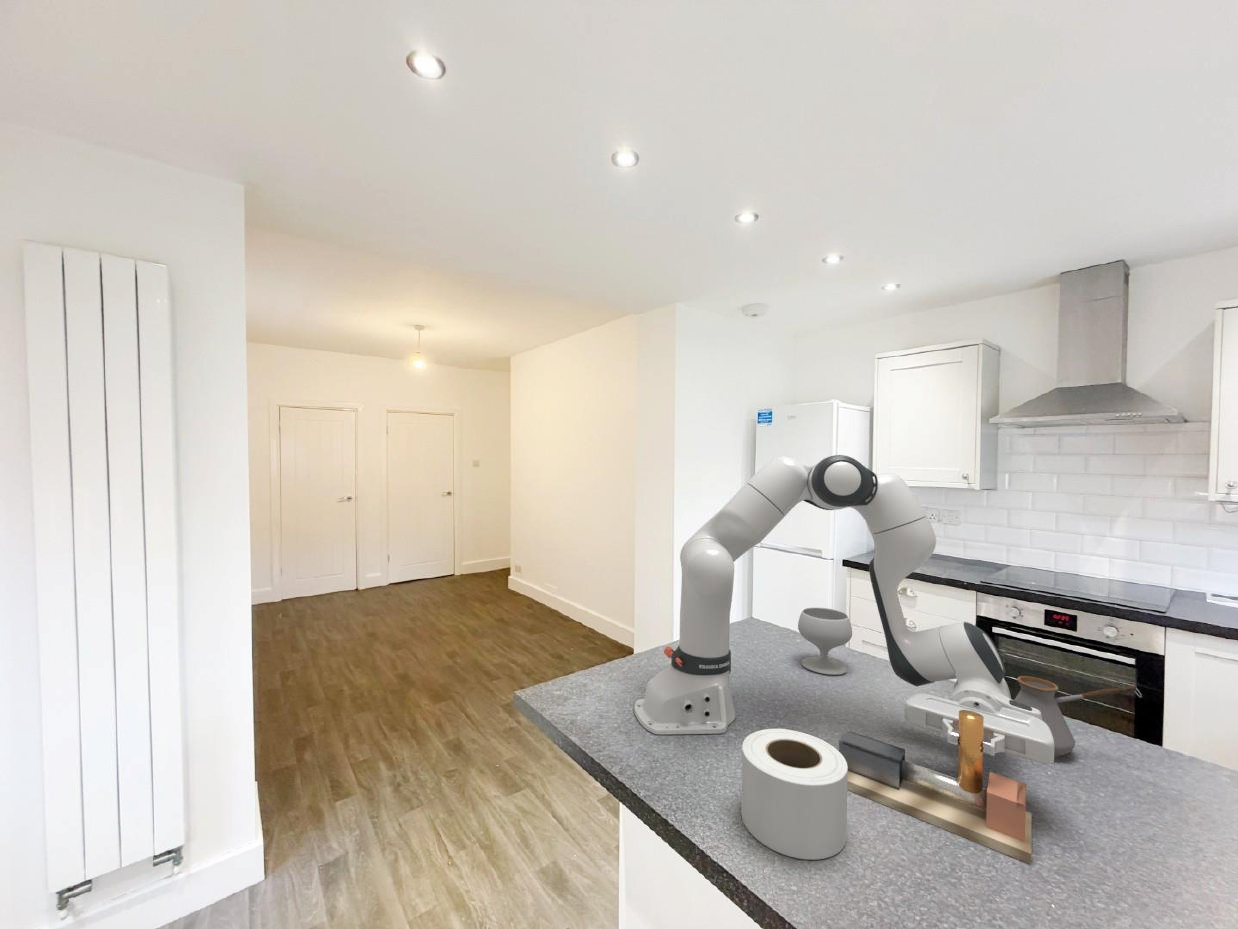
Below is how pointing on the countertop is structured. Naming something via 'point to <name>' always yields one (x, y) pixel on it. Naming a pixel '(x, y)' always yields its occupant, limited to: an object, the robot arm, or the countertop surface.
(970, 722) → the tube
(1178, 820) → the countertop surface
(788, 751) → the toilet paper roll
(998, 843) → the board
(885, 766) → the sleeve
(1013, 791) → the socket
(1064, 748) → the coffee pot
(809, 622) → the chalice
